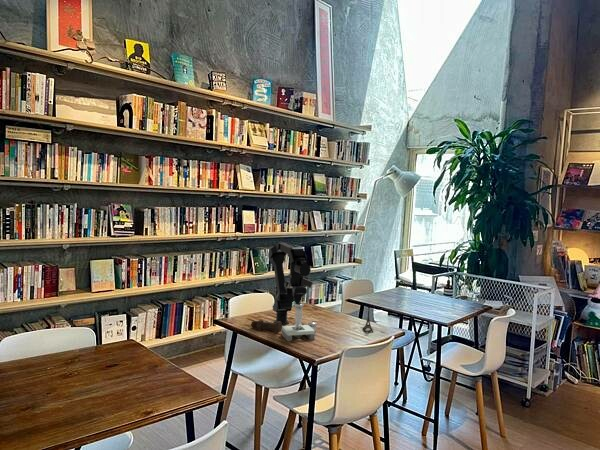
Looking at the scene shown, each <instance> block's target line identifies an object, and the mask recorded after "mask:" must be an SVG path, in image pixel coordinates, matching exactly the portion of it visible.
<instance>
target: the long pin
mask: <svg viewBox="0 0 600 450" xmlns="http://www.w3.org/2000/svg"><path fill="white" fill-rule="evenodd" d="M304 306H305V304H304V303H301V302H300V303H295V302H294V307H295V312H294V313H295V317H294V326H295V330H302V325H303V307H304ZM293 336H294V338H295V339H301V338H302V335H293Z"/></svg>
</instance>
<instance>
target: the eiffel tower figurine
mask: <svg viewBox="0 0 600 450" xmlns="http://www.w3.org/2000/svg"><path fill="white" fill-rule="evenodd" d="M367 309H368V310H367V318H366V323H365V324H364V326H360V327H359V329H361V331H362V332H363V333H372V334H374V333H375V332H374V331H378V332H380V333H381V334H386V333H387V332H385V331H382V330H379V329H377V328H372V325H371V321H370V307H368V308H367ZM357 329H358V327H353V328H351V330H357Z"/></svg>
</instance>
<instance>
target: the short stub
mask: <svg viewBox="0 0 600 450" xmlns="http://www.w3.org/2000/svg"><path fill="white" fill-rule="evenodd" d="M307 325H309V326H310V327H311V328H312V329H313V330H315V334H316V331H317V330H316V329H317V326H318V322H316V321H308V323H307Z"/></svg>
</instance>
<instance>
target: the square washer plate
mask: <svg viewBox="0 0 600 450" xmlns="http://www.w3.org/2000/svg"><path fill="white" fill-rule="evenodd" d="M315 334H316V333H315V330H313V329H312V328H311V327H310V326H309V325H308V324H302V330H295V325H282V330H281V336H283V338H284V339H285V340H286V341H287V342H291V341H293V336H295V335H301V336H303V335H305V336H306V337H307V338H309V340H310V341H311V340H315V339H316V336H315Z"/></svg>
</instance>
